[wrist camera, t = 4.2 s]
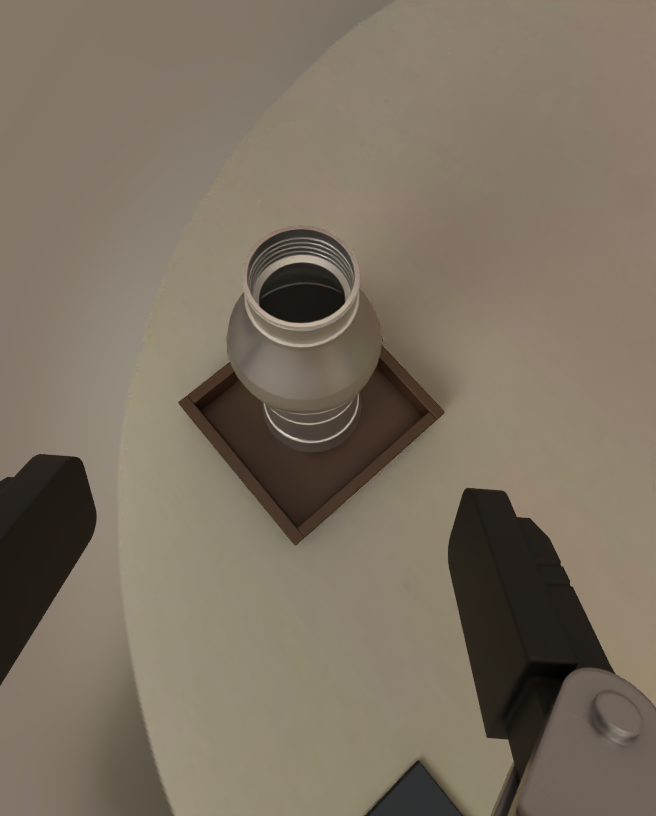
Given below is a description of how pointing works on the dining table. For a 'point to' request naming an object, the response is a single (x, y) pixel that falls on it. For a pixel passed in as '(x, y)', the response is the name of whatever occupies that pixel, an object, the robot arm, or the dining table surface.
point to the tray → (310, 471)
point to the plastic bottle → (304, 336)
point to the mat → (415, 797)
